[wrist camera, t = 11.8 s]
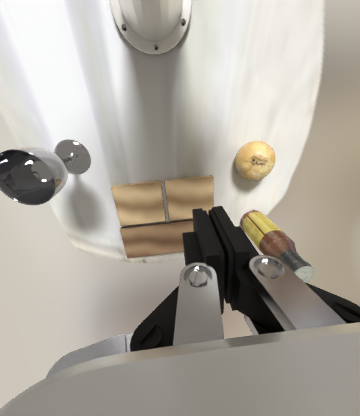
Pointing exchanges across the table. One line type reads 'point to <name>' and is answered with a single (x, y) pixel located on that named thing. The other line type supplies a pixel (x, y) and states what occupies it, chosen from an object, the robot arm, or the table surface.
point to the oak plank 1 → (139, 203)
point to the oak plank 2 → (188, 196)
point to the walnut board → (155, 238)
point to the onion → (255, 160)
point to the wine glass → (40, 171)
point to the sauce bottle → (275, 243)
